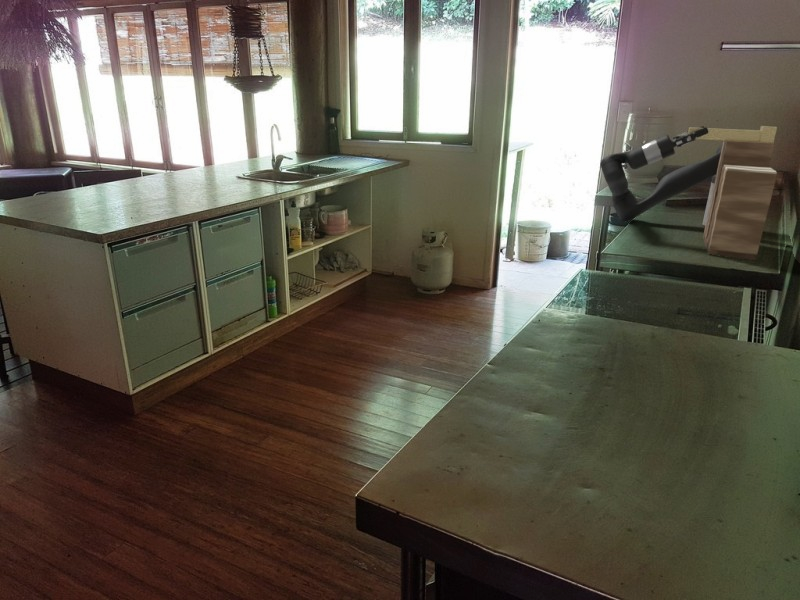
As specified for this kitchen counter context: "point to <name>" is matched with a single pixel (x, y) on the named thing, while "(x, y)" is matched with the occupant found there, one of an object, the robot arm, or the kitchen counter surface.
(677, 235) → the kitchen counter surface
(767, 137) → the tan wooden bar
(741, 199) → the stepped wooden block
